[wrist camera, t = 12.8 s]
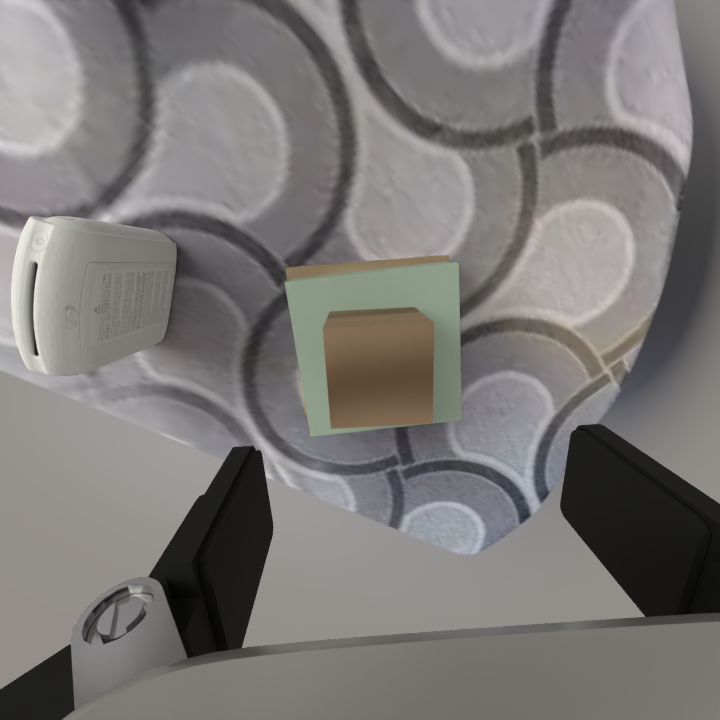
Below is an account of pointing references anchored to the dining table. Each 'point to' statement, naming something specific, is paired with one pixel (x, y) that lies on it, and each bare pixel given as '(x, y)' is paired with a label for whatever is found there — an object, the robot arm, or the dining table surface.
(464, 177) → the dining table surface
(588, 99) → the dining table surface
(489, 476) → the dining table surface
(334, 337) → the walnut cube
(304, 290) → the sage top block
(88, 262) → the photo printer
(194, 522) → the robot arm
